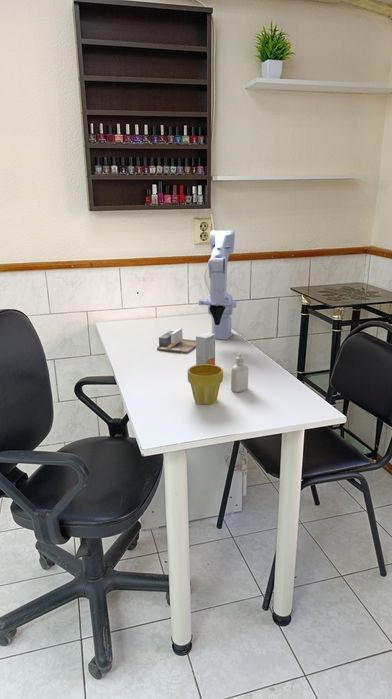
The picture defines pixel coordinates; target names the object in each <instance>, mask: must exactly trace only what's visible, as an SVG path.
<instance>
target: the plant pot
mask: <svg viewBox="0 0 392 699" xmlns="http://www.w3.org/2000/svg"><path fill="white" fill-rule="evenodd" d="M223 380H224V369H223V368H222V367H221V366H220V365H216V364H215V365H211V364H200V365H196V364H195V365H192V366H190V367H189V368H188V369H187V381H188V383H189V384H190V388H191V391H192V396H193V400H194V402H195V403H196V404H199V405H202V406H203V405H204V406H205V405H206V406H207V405H213V404H215V403H216V402H217V400H218V397H219V396H218V395H219V392H220V387H221V383H222V382H223Z"/></svg>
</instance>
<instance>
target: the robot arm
mask: <svg viewBox="0 0 392 699" xmlns="http://www.w3.org/2000/svg"><path fill="white" fill-rule="evenodd" d="M209 239H210V240H209V242H210V250H211V257H210V258H209V259H208V262H207V263H208V264H207V265H208V266H207V269H208V277H209V298H208V299H206V298H205V299H204V298H203V299H202V298H201V299H199V300H198V305H199V306H202V305H203V306H207V313H208V315H210V316H211V333H212V334H215V340H216V339H217V340H218V339H219V340H228V339H229V338H230V337H231V336H232V335H233V334H234V332H233V331H232V317H231V316H232V315H233V309H236V308H237V302H236V301H233V296H232V295H231V294H230V293H228V292H227V285H228V284H227V281H228V280H227V279H228V278H227V277H228V260H229V256H230V254H232V253H234V251H235V231H234V230H213V229H212V230H211V231H210V235H209Z"/></svg>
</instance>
